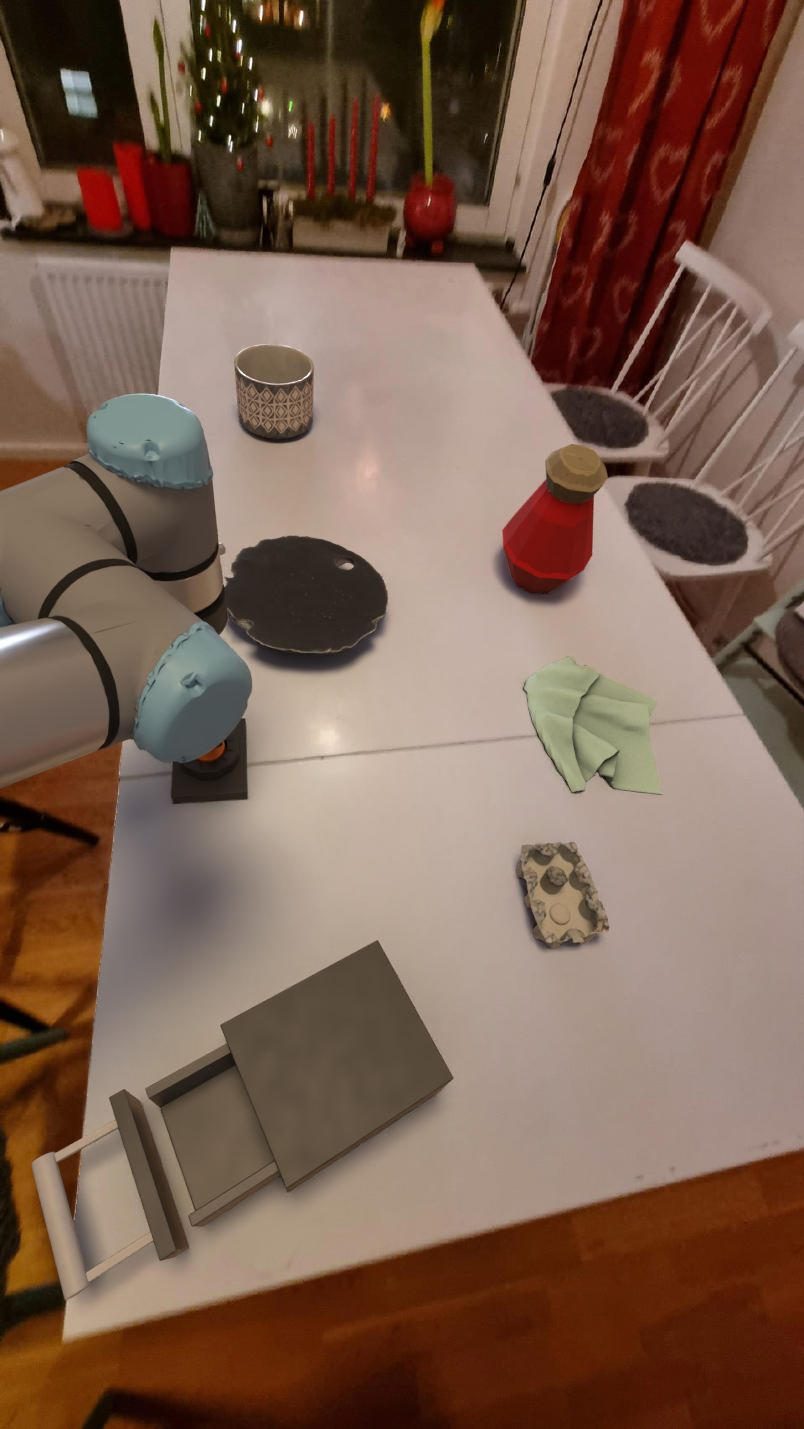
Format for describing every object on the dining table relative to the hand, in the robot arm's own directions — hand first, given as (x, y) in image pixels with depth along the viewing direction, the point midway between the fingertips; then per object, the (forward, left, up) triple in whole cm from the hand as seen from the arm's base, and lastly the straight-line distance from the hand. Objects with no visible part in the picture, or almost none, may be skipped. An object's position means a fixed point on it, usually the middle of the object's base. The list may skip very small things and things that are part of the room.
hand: (208, 744), depth 77 cm
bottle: (+53, -18, -4) cm, 57 cm away
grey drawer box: (-20, -29, -4) cm, 35 cm away
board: (+25, +5, -4) cm, 26 cm away
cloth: (+30, -36, -4) cm, 48 cm away
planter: (+60, +35, -4) cm, 70 cm away
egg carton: (+6, -40, -4) cm, 41 cm away
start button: (0, 0, -2) cm, 2 cm away
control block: (0, 0, -4) cm, 4 cm away
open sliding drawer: (-31, -23, -3) cm, 38 cm away
